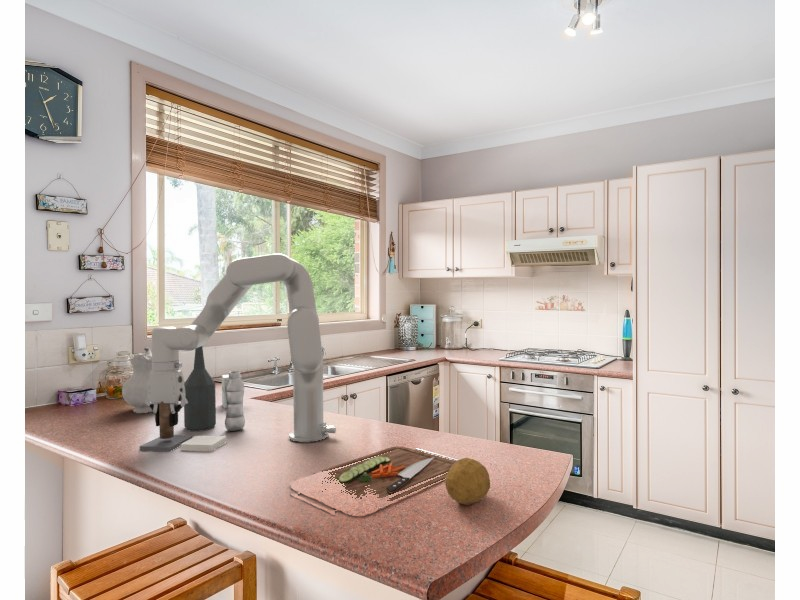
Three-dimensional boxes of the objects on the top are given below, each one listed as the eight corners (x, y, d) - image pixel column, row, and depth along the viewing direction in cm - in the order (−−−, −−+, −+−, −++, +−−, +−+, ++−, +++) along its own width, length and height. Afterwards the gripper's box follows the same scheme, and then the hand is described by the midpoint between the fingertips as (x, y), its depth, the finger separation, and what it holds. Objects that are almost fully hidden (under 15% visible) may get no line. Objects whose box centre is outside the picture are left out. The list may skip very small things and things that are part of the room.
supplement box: (221, 404, 211) (221, 374, 211) (240, 403, 214) (239, 373, 214) (223, 408, 205) (223, 377, 204) (242, 406, 208) (242, 376, 207)
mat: (192, 439, 161) (192, 435, 161) (170, 451, 150) (170, 447, 150) (164, 438, 163) (164, 434, 163) (139, 450, 151) (139, 446, 151)
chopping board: (403, 447, 153) (403, 437, 153) (476, 468, 135) (476, 456, 135) (276, 490, 121) (275, 478, 120) (349, 526, 102) (349, 511, 102)
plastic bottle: (220, 431, 171) (219, 372, 170) (235, 426, 177) (234, 370, 176) (234, 433, 168) (233, 374, 167) (249, 428, 174) (248, 371, 173)
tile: (226, 436, 158) (196, 435, 160) (212, 445, 149) (180, 444, 151) (226, 443, 158) (196, 442, 160) (212, 452, 149) (180, 451, 151)
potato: (501, 455, 115) (464, 445, 120) (476, 477, 104) (436, 464, 109) (498, 495, 116) (462, 483, 121) (473, 520, 105) (434, 505, 110)
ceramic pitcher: (117, 411, 206) (110, 351, 204) (166, 400, 219) (161, 343, 217) (131, 421, 190) (125, 356, 188) (184, 408, 203) (178, 347, 201)
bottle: (199, 422, 183) (198, 340, 182) (221, 424, 179) (220, 340, 179) (178, 430, 173) (176, 343, 172) (201, 432, 170) (199, 343, 169)
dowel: (176, 435, 158) (175, 390, 158) (168, 439, 154) (168, 393, 154) (164, 434, 158) (164, 390, 158) (156, 438, 154) (156, 393, 154)
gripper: (197, 365, 158) (198, 423, 159) (148, 364, 161) (149, 421, 161) (183, 368, 151) (184, 429, 151) (133, 368, 153) (134, 427, 154)
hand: (166, 424), depth 156 cm, fingers closed on dowel, 4 cm apart
